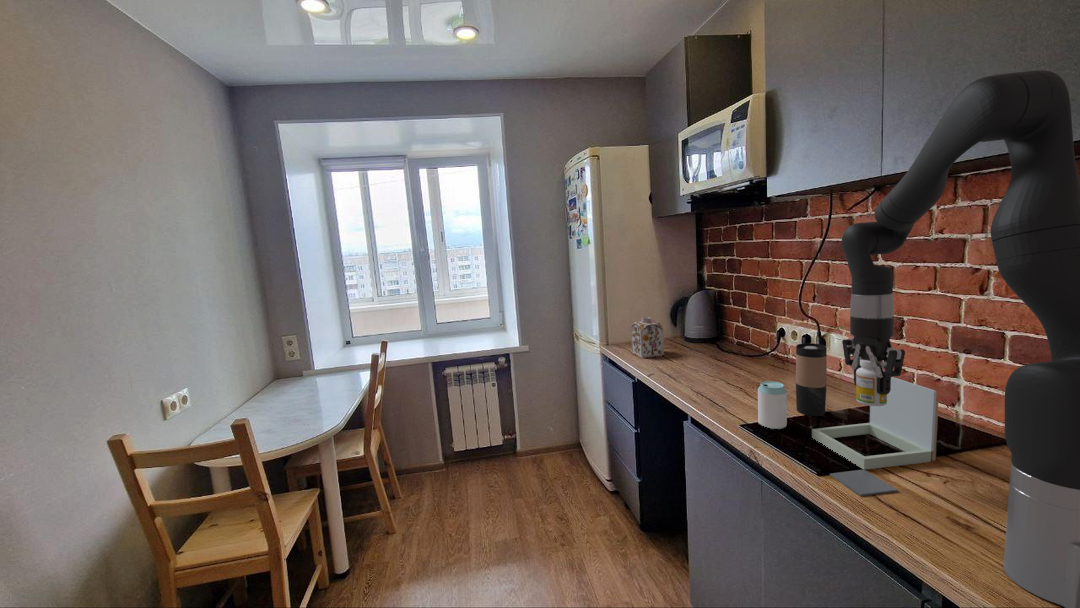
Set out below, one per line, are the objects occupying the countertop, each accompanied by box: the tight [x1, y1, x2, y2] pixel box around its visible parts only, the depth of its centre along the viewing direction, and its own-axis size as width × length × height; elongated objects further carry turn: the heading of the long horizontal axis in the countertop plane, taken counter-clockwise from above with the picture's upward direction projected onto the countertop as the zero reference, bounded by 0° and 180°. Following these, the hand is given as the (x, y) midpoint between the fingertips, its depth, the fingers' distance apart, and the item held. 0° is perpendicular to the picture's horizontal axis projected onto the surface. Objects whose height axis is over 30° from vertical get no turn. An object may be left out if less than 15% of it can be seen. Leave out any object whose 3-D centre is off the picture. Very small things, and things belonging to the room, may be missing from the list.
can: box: [757, 380, 788, 430], centre depth 117 cm, size 7×7×12 cm
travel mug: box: [795, 342, 828, 417], centre depth 124 cm, size 8×8×20 cm
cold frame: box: [811, 376, 939, 471], centre depth 101 cm, size 16×17×16 cm
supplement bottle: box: [855, 359, 887, 407], centre depth 93 cm, size 5×5×10 cm
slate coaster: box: [829, 469, 898, 497], centre depth 88 cm, size 8×8×1 cm
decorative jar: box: [630, 316, 665, 359], centre depth 202 cm, size 12×12×18 cm
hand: (871, 389), depth 93 cm, fingers closed on supplement bottle, 5 cm apart
